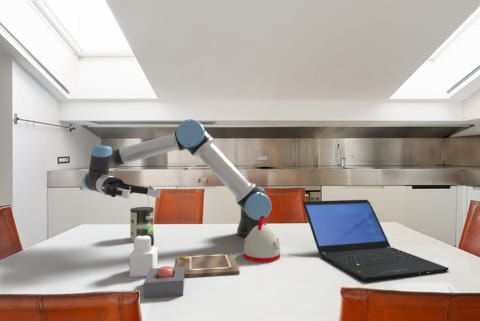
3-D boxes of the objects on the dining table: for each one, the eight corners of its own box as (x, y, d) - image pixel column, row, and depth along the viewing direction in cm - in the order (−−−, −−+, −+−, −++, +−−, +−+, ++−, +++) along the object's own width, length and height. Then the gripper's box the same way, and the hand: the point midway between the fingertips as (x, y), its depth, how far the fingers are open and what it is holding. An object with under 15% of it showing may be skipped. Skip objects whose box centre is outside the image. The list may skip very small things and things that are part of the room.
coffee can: (157, 236, 135) (157, 207, 135) (146, 242, 125) (146, 210, 125) (138, 235, 137) (138, 206, 137) (125, 241, 127) (125, 209, 127)
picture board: (232, 255, 107) (232, 252, 107) (239, 274, 89) (239, 269, 89) (178, 258, 104) (178, 254, 104) (174, 278, 86) (174, 273, 86)
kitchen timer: (283, 252, 111) (283, 214, 111) (276, 264, 98) (276, 221, 98) (249, 249, 116) (249, 212, 116) (238, 260, 102) (238, 218, 103)
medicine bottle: (135, 268, 94) (135, 232, 94) (157, 268, 94) (157, 232, 94) (128, 277, 87) (129, 238, 87) (152, 276, 87) (152, 237, 87)
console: (184, 280, 85) (184, 266, 85) (183, 295, 75) (183, 280, 75) (149, 282, 83) (149, 268, 83) (143, 298, 73) (143, 282, 73)
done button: (173, 276, 81) (173, 265, 81) (172, 282, 77) (172, 271, 77) (158, 277, 81) (159, 266, 81) (157, 283, 77) (157, 272, 77)
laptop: (363, 284, 82) (363, 218, 83) (301, 247, 119) (301, 201, 119) (450, 273, 91) (450, 212, 91) (368, 241, 127) (368, 198, 128)
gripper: (135, 194, 124) (169, 203, 113) (77, 195, 104) (112, 206, 92) (137, 177, 125) (171, 185, 113) (80, 174, 104) (115, 183, 92)
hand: (145, 194), depth 103 cm, fingers open, 13 cm apart
